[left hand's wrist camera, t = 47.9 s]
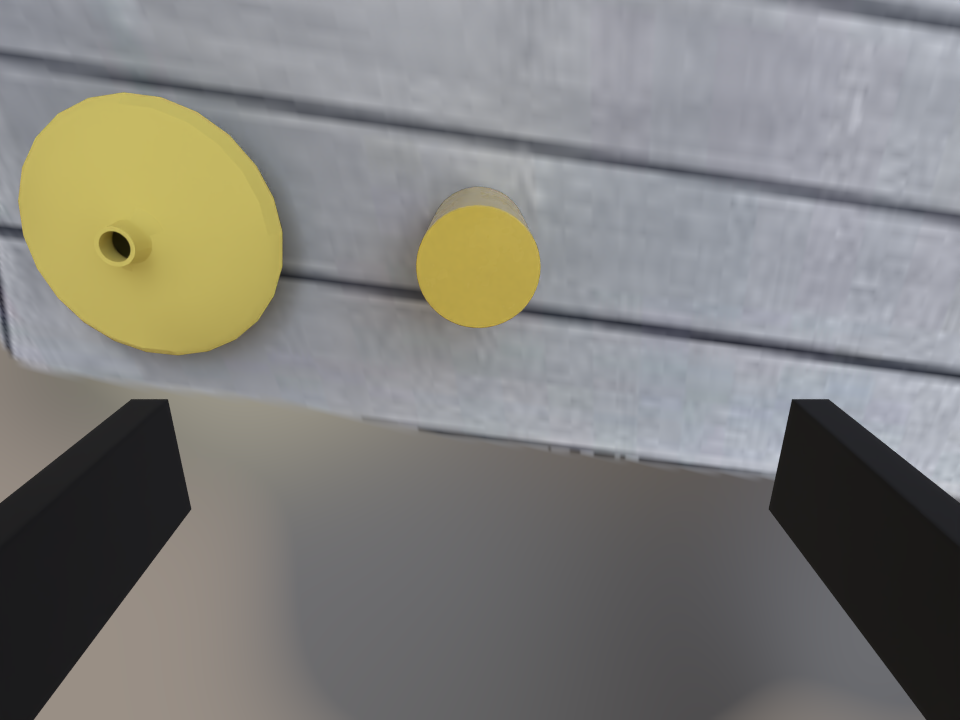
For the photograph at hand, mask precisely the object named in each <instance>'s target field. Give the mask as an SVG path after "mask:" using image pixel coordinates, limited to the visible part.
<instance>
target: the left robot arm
mask: <svg viewBox="0 0 960 720" xmlns="http://www.w3.org/2000/svg"><path fill="white" fill-rule="evenodd" d="M190 510H191V506H190V501H189V496H188V492H187V487H186V482H185V477H184V473H183V468H182V463H181V459H180V454H179V449H178V445H177V440H176V435H175V431H174V426H173V421H172V416H171V412H170V407H169V403H168V399H131V400H130V401H129V402H128V403H126V404H125V405H124V406H123V407H121V408H120V409H119V410H117V411H116V412H115V413H114V414H112V415H111V416H110V417H109V418H107V419H106V420H105V421H104V422H102V423H101V424H100V425H98V426H97V427H96V428H95V429H93V430H92V431H91V432H90V433H88V434H87V435H86V436H85V437H83V438H82V439H81V440H80V441H78V442H77V443H76V444H74V445H73V446H72V447H71V448H69V449H68V450H67V451H66V452H64V453H63V454H62V455H61V456H59V457H58V458H57V459H55V460H54V461H53V462H52V463H50V464H49V465H48V466H47V467H45V468H44V469H43V470H42V471H40V472H39V473H38V474H37V475H35V476H34V477H33V478H32V479H30V480H29V481H28V482H26V483H25V484H24V485H23V486H21V487H20V488H19V489H18V490H16V491H15V492H14V493H13V494H11V495H10V496H9V497H7V498H6V499H5V500H4V501H2V502H1V503H0V720H34V719H35V717H36V716H37V715H38V713H39V712H40V711H41V709H42V708H43V707H44V705H45V704H46V702H47V701H48V700H49V698H50V697H51V696H52V694H53V693H54V692H55V691H56V689H57V688H58V687H59V685H60V684H61V683H62V681H63V680H64V679H65V677H66V676H67V674H68V673H69V672H70V670H71V669H72V668H73V666H74V665H75V664H76V662H77V661H78V660H79V658H80V657H81V656H82V654H83V653H84V652H85V650H86V649H87V648H88V646H89V645H90V644H91V642H92V641H93V640H94V638H95V637H96V636H97V634H98V633H99V632H100V630H101V629H102V628H103V626H104V625H105V624H106V622H107V621H108V620H109V618H110V617H111V616H112V614H113V613H114V612H115V610H116V609H117V608H118V606H119V605H120V604H121V602H122V601H123V600H124V598H125V597H126V596H127V594H128V593H129V592H130V590H131V589H132V588H133V586H134V585H135V584H136V582H137V581H138V580H139V578H140V577H141V576H142V574H143V573H144V572H145V570H146V569H147V568H148V566H149V565H150V564H151V562H152V561H153V560H154V558H155V557H156V556H157V554H158V553H159V552H160V550H161V549H162V548H163V546H164V545H165V544H166V542H167V541H168V540H169V538H170V537H171V536H172V534H173V533H174V531H175V530H176V529H177V528H178V526H179V525H180V523H181V522H182V521H183V519H184V518H185V517H186V516H187V514H188V513H189V512H190ZM769 510H770V511H771V513H772V514H773V516H774V517H775V518H776V520H777V521H778V522H779V524H780V525H781V526H782V527H783V529H784V530H785V532H786V533H787V534H788V535H789V537H790V538H791V540H792V541H793V542H794V544H795V545H796V546H797V548H798V549H799V550H800V552H801V553H802V554H803V556H804V557H805V558H806V560H807V561H808V562H809V564H810V565H811V566H812V568H813V569H814V570H815V572H816V573H817V574H818V576H819V577H820V578H821V580H822V581H823V582H824V584H825V585H826V586H827V588H828V589H829V590H830V592H831V593H832V594H833V596H834V597H835V598H836V600H837V601H838V602H839V604H840V605H841V606H842V608H843V609H844V610H845V612H846V613H847V614H848V616H849V617H850V618H851V620H852V621H853V622H854V624H855V625H856V626H857V628H858V629H859V630H860V632H861V633H862V634H863V636H864V637H865V638H866V640H867V641H868V642H869V644H870V645H871V646H872V648H873V649H874V650H875V652H876V653H877V654H878V656H879V657H880V658H881V660H882V661H883V662H884V664H885V665H886V666H887V668H888V669H889V670H890V672H891V673H892V674H893V676H894V677H895V679H896V680H897V681H898V683H899V684H900V685H901V686H902V688H903V689H904V691H905V692H906V693H907V695H908V696H909V697H910V699H911V700H912V701H913V703H914V704H915V705H916V707H917V708H918V709H919V711H920V712H921V713H922V715H923V716H924V717H925V719H926V720H960V503H959V502H958V501H956V500H955V499H954V498H953V497H951V496H950V495H949V494H947V493H946V492H945V491H944V490H942V489H941V488H940V487H939V486H937V485H936V484H935V483H934V482H932V481H931V480H930V479H929V478H927V477H926V476H925V475H923V474H922V473H921V472H920V471H918V470H917V469H916V468H915V467H913V466H912V465H911V464H910V463H908V462H907V461H906V460H905V459H903V458H902V457H901V456H899V455H898V454H897V453H896V452H894V451H893V450H892V449H891V448H889V447H888V446H887V445H886V444H884V443H883V442H882V441H881V440H879V439H878V438H877V437H875V436H874V435H873V434H872V433H870V432H869V431H868V430H867V429H865V428H864V427H863V426H862V425H860V424H859V423H858V422H857V421H855V420H854V419H853V418H851V417H850V416H849V415H848V414H846V413H845V412H844V411H843V410H841V409H840V408H839V407H838V406H836V405H835V404H834V403H833V402H831V401H830V400H829V399H792V402H791V407H790V412H789V416H788V421H787V426H786V430H785V435H784V440H783V445H782V449H781V454H780V459H779V463H778V468H777V473H776V477H775V482H774V487H773V491H772V496H771V501H770V506H769Z"/></svg>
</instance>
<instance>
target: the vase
mask: <svg viewBox="0 0 960 720" xmlns="http://www.w3.org/2000/svg"><path fill="white" fill-rule="evenodd" d="M18 203H19V209H20V216H21V222H22V229H23V235H24V238H25V240H26V243H27V245H28V247H29V250H30V252H31V255H32V257H33V259H34V262H35V264H36V267H37V269H38V270H39V272H40V273H41V275H42V276H43V277H44V279H45V280H46V282H47V283H48V284H49V286H50V287H51V289H52V290H53V292H54V293H55V294H56V296H57V297H58V298H59V299H60V300H61V301H62V302H63V303H64V304H65V305H66V306H67V307H68V308H69V309H70V310H71V311H72V312H74V313H75V314H76V315H77V316H78V317H79V318H80V319H81V320H82V321H83V322H84V323H86V324H88V325H89V326H91V327H92V328H94V329H96V330H97V331H99V332H101V333H102V334H104V335H106V336H107V337H109V338H111V339H112V340H114V341H117V342H119V343H122V344H125V345H128V346H131V347H134V348H137V349H140V350H142V351H145V352H153V353H162V354H171V355H184V354H191V353H199V352H206V351H210V350H212V349H215V348H217V347H219V346H222V345H224V344H226V343H229V342H231V341H233V340H236V339H237V338H238V337H239V336H240V335H241V334H243V333H244V332H245V331H246V330H247V329H249V328H250V327H251V326H252V325H253V324H255V323H256V322H257V321H258V320H259V318H260V317H261V315H262V314H263V312H264V310H265V309H266V307H267V306H268V304H269V303H270V301H271V300H272V298H273V296H274V294H275V290H276V287H277V283H278V280H279V276H280V273H281V269H282V228H281V224H280V220H279V216H278V212H277V209H276V205H275V201H274V197H273V196H272V194H271V192H270V190H269V188H268V186H267V184H266V183H265V181H264V179H263V177H262V175H261V173H260V171H259V169H258V168H257V166H256V165H255V164H254V163H253V162H252V160H251V159H250V158H249V157H248V156H247V155H246V154H245V152H244V151H243V150H242V149H241V148H240V147H239V146H238V144H237V143H236V142H235V141H234V140H233V139H232V138H231V136H230V135H228V134H227V133H226V132H224V131H223V130H221V129H220V128H219V127H217V126H216V125H214V124H213V123H212V122H210V121H209V120H208V119H206V118H205V117H203V116H202V115H201V114H199V113H198V112H196V111H193V110H191V109H188V108H186V107H184V106H181V105H179V104H176V103H174V102H171V101H169V100H166V99H164V98H161V97H155V96H147V95H140V94H132V93H124V92H123V93H117V94H111V95H104V96H98V97H92V98H87V99H86V100H84V101H82V102H80V103H78V104H76V105H74V106H72V107H70V108H68V109H66V110H64V111H62V112H60V113H58V114H57V115H56V117H55V118H54V119H53V120H52V121H51V122H50V123H49V124H48V125H47V126H46V127H45V128H44V129H43V130H42V131H41V132H40V133H39V135H38V136H37V137H36V138H35V140H34V142H33V145H32V147H31V149H30V151H29V153H28V156H27V158H26V160H25V162H24V165H23V167H22V173H21V182H20V190H19V199H18Z"/></svg>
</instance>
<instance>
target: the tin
mask: <svg viewBox="0 0 960 720" xmlns="http://www.w3.org/2000/svg"><path fill="white" fill-rule="evenodd" d="M416 272H417V279H418V283H419V286H420V289H421V291H422V293H423V295H424V297H425V299H426V300H427V302H428V303H429V304H430V306H431V307H432V308H433V309H434V310H435V311H436V312H437V313H438V314H440V315H441V316H442V317H444V318H445V319H447V320H449V321H451V322H453V323H455V324H458V325H462V326H465V327H472V328H484V327H491V326H496V325H498V324H501V323H504V322H506V321H508V320H510V319H511V318H513V317H514V316H516V315H517V314H518V313H519V312H520V311H522V310H523V309H524V307H525V306H526V305H527V304H528V303H529V301H530V300H531V298H532V297H533V295H534V293H535V291H536V288H537V285H538V282H539V277H540V256H539V251H538V248H537V245H536V242H535V240H534V238H533V236H532V234H531V232H530V230H529V228H528V226H527V224H526V222H525V220H524V218H523V216H522V214H521V212H520V210H519V209H518V207H517V206H516V205H515V203H514V202H513V201H512V200H511V199H510V198H508V197H507V196H506V195H504V194H503V193H501V192H499V191H497V190H494V189H491V188H486V187H470V188H466V189H463V190H460V191H458V192H456V193H454V194H452V195H451V196H450V197H448V198H447V199H446V200H445V201H444V202H443V203H442V204H441V206H440V207H439V208H438V210H437V212H436V214H435V216H434V218H433V219H432V221H431V223H430V225H429V227H428V229H427V231H426V233H425V235H424V237H423V239H422V242H421V244H420V247H419V250H418V254H417V261H416Z"/></svg>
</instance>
